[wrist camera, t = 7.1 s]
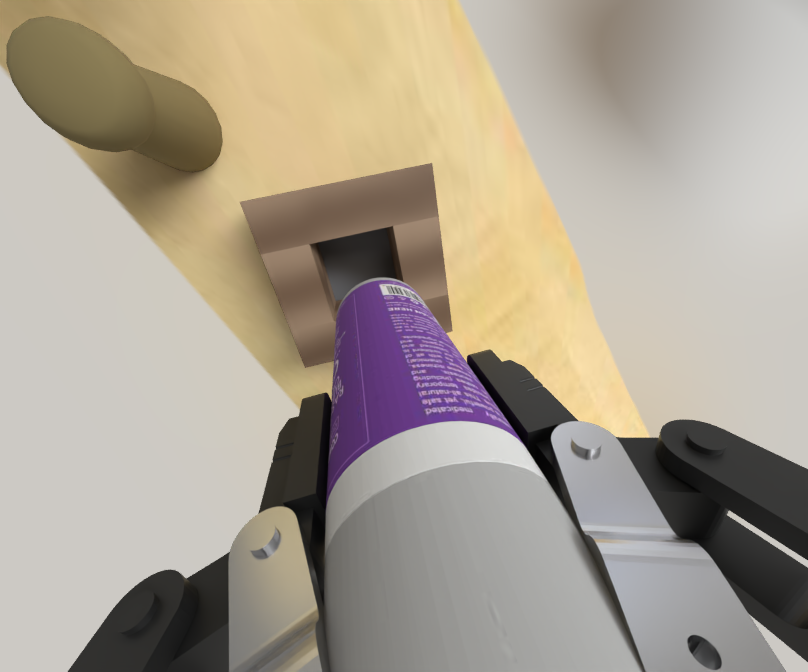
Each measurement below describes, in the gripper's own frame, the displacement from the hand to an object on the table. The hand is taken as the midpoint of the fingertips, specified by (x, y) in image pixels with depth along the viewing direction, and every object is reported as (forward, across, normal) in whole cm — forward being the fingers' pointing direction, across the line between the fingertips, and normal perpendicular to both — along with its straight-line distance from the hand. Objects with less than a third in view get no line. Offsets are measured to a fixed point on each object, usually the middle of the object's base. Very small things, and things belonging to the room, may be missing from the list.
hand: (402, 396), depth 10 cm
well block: (+23, 0, 0) cm, 23 cm away
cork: (+23, +11, -13) cm, 29 cm away
